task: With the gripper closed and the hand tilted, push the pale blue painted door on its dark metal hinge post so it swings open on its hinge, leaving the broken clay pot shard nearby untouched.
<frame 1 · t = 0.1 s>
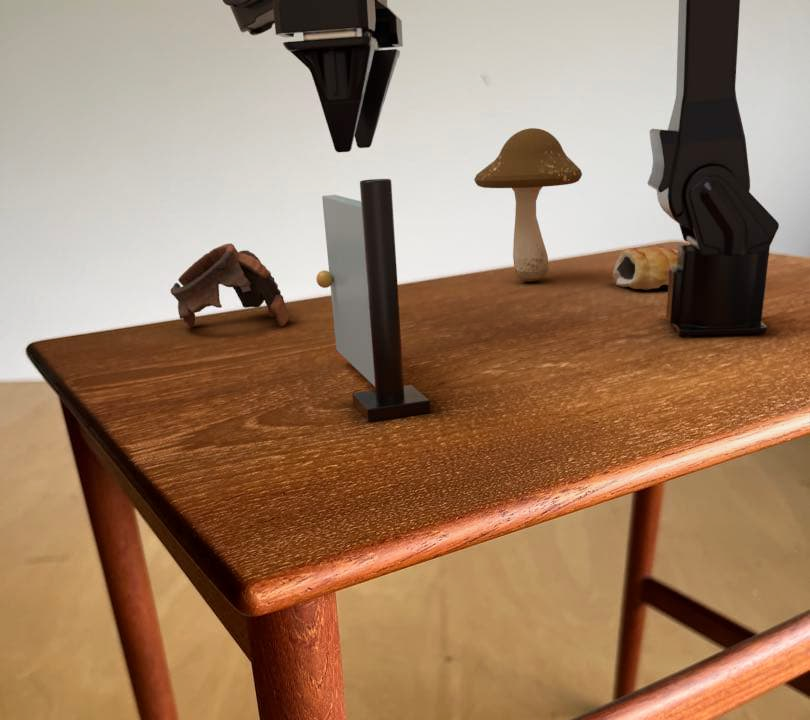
hand: (354, 149, 68), 15 cm above the table, tool pointing down, fingers open, 9 cm apart
door: (346, 288, 59), point 7 cm above the table, hinge at 0.0°
broken clay pot shard: (240, 325, 84), on the table
mushroom: (527, 283, 95), on the table
door frame: (391, 408, 56), on the table
pastry: (657, 286, 89), on the table
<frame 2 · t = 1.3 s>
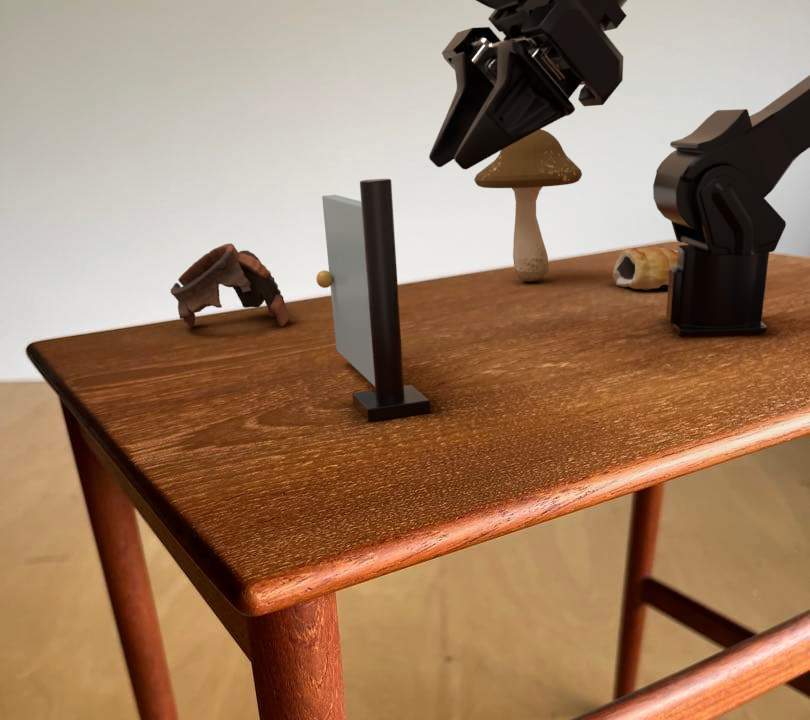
hand: (446, 163, 62), 14 cm above the table, tool tilted 45°, fingers open, 5 cm apart
nothing on the table moved.
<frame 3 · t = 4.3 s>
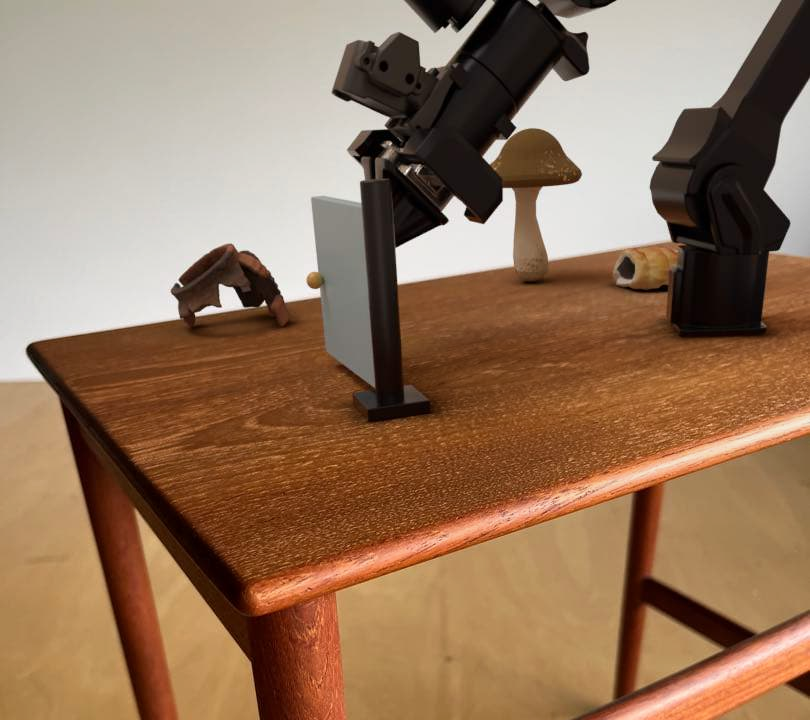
hand: (342, 267, 62), 7 cm above the table, tool tilted 45°, fingers closed, pressing on door
door: (340, 289, 59), point 7 cm above the table, hinge at 3.6°, touching gripper
everything else where it was.
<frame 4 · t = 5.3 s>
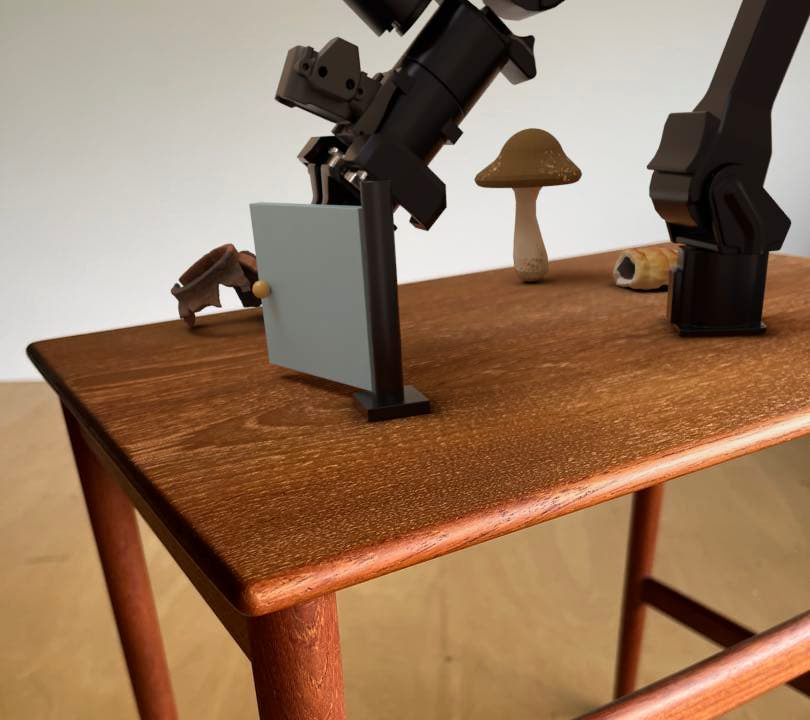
hand: (290, 276, 61), 7 cm above the table, tool tilted 45°, fingers closed
door: (307, 294, 58), point 6 cm above the table, hinge at 24.2°, touching gripper
everything else where it was.
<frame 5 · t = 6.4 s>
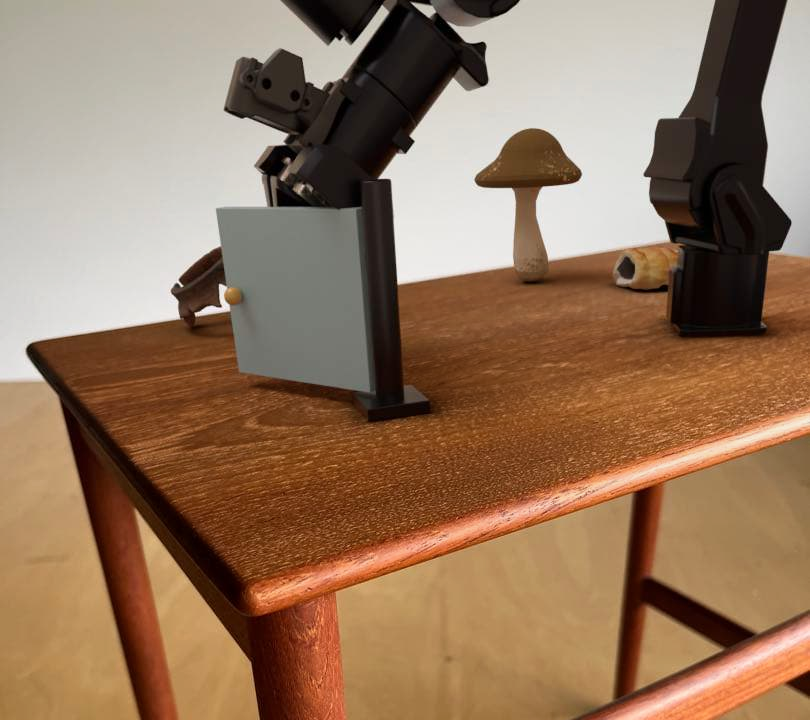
hand: (244, 288, 61), 7 cm above the table, tool tilted 45°, fingers closed
door: (290, 299, 57), point 7 cm above the table, hinge at 36.6°, touching gripper
everything else where it was.
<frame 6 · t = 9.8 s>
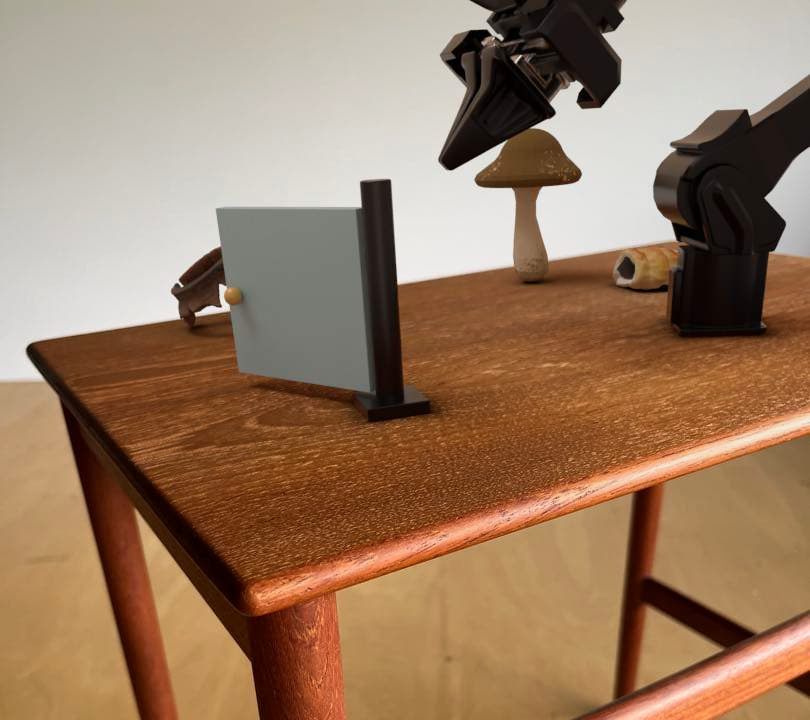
hand: (443, 166, 62), 13 cm above the table, tool tilted 45°, fingers closed
door: (290, 299, 57), point 7 cm above the table, hinge at 36.7°
everything else where it was.
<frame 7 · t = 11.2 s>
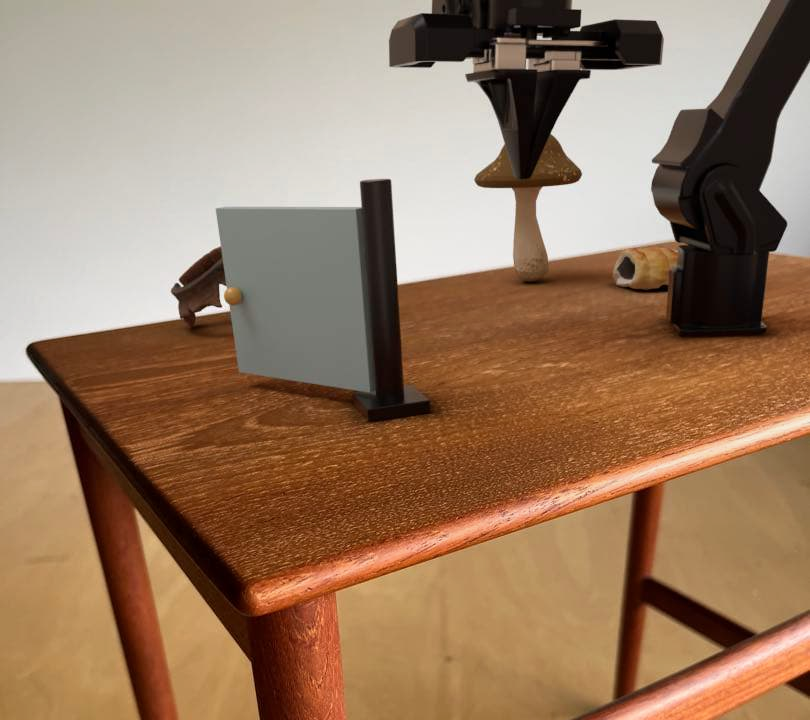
hand: (522, 179, 65), 12 cm above the table, tool pointing down, fingers closed
nothing on the table moved.
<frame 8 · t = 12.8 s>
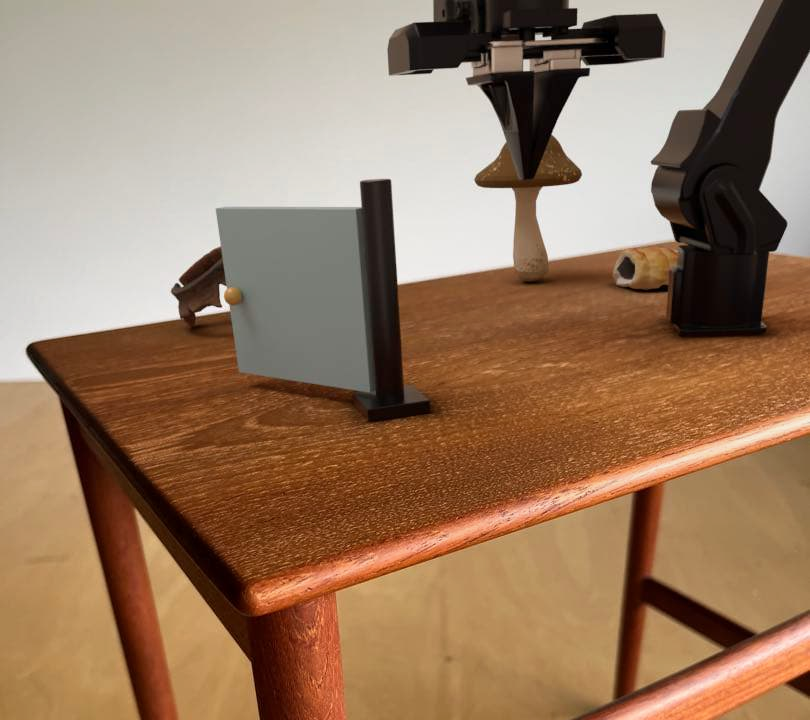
hand: (526, 179, 65), 12 cm above the table, tool pointing down, fingers closed
nothing on the table moved.
at the end: door at +37° (first picture: +0°); broken clay pot shard moved 0.2 cm from its start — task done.
